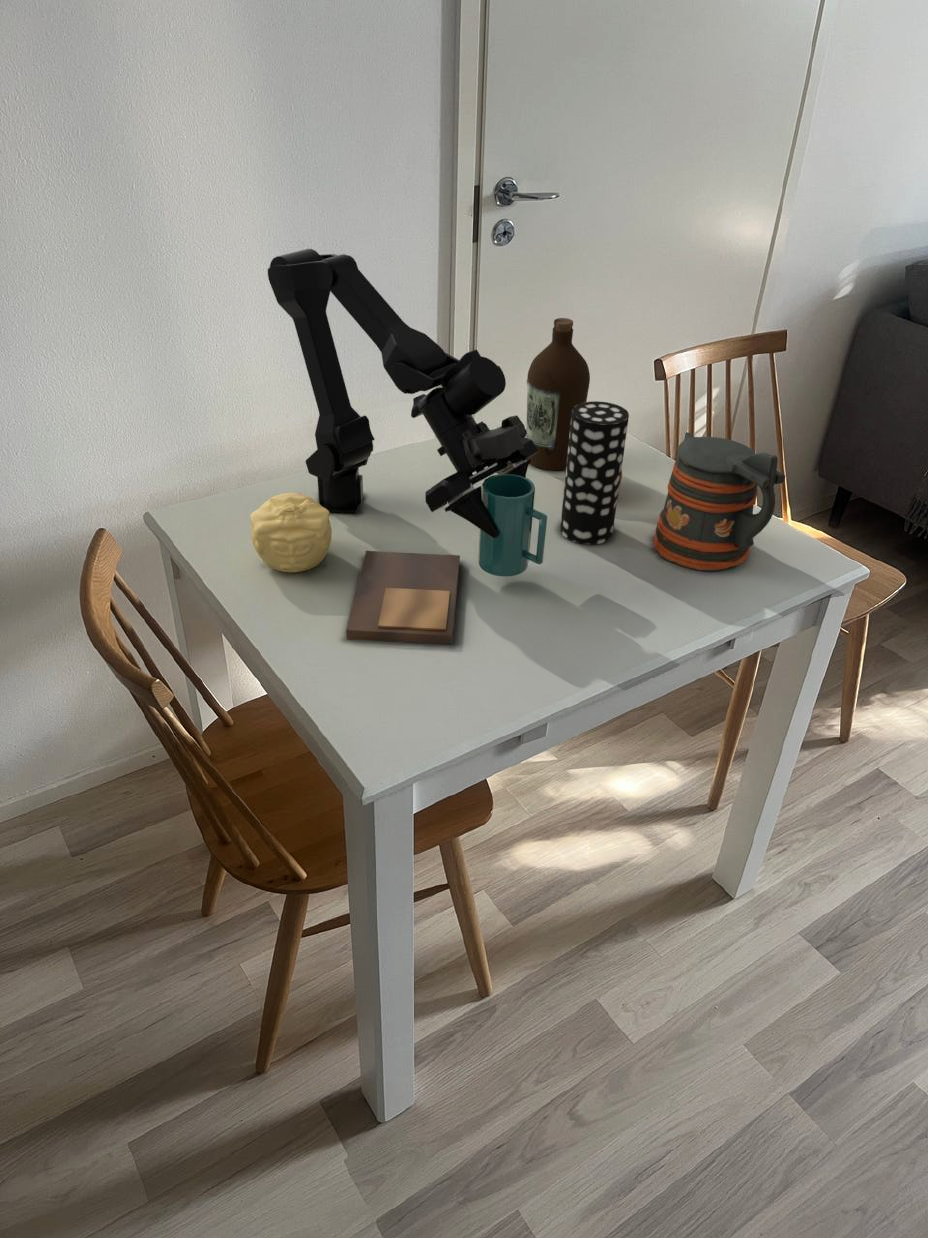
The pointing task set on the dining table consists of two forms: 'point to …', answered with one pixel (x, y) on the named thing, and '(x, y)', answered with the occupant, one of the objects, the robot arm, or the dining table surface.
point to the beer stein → (715, 503)
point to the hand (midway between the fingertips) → (513, 526)
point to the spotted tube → (593, 471)
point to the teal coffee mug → (510, 526)
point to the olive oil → (555, 396)
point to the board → (405, 598)
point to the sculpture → (291, 532)
